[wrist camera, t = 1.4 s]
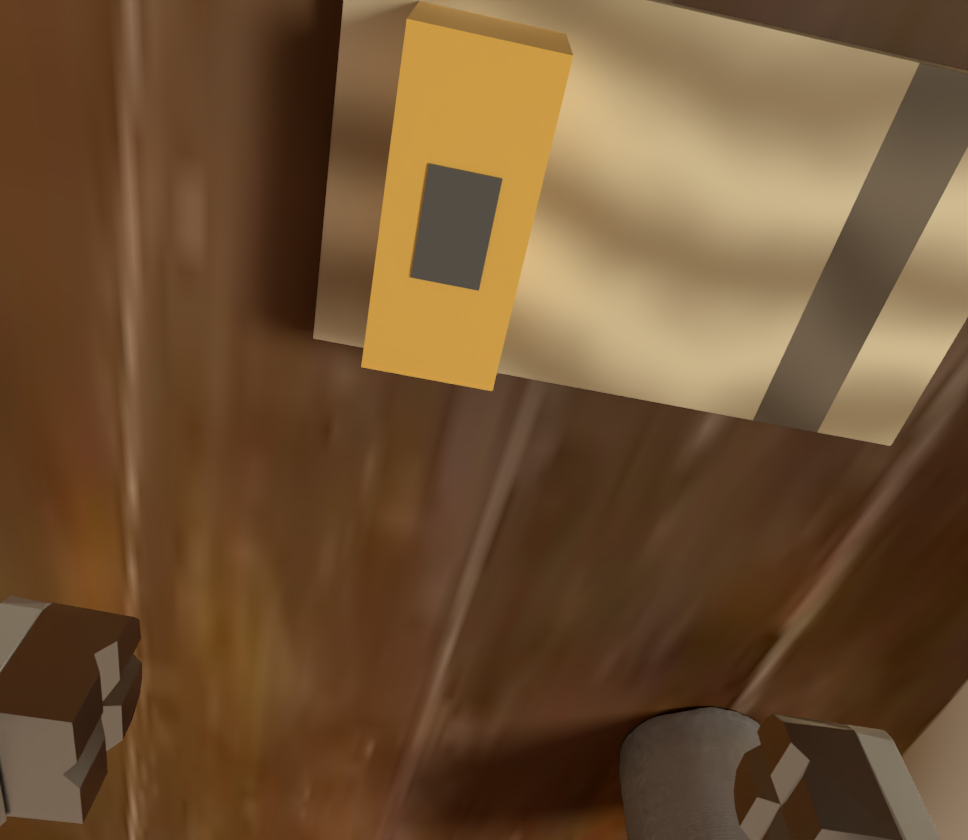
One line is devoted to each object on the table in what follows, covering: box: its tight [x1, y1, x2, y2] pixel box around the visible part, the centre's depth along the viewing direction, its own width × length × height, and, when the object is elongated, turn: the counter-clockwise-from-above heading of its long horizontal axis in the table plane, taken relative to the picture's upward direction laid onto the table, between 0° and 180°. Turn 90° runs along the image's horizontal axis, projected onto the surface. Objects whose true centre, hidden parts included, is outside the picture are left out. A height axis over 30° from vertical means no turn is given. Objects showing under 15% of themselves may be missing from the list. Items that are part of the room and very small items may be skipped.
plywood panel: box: [313, 0, 968, 446], centre depth 32 cm, size 15×26×1 cm, turn 79°
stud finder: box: [361, 1, 573, 391], centre depth 29 cm, size 12×5×4 cm, turn 169°
